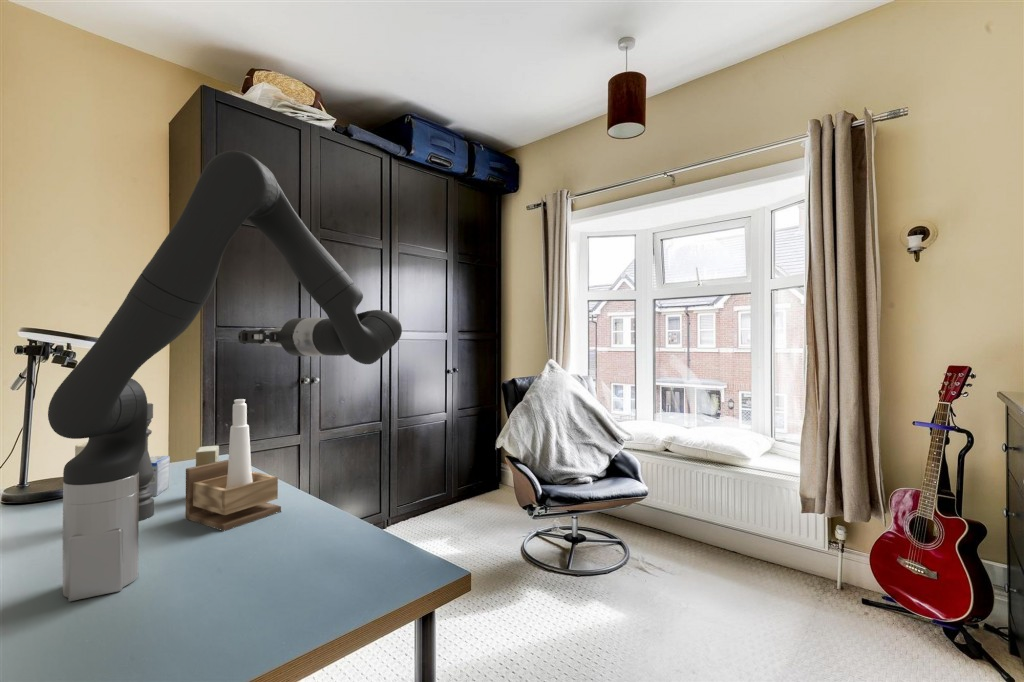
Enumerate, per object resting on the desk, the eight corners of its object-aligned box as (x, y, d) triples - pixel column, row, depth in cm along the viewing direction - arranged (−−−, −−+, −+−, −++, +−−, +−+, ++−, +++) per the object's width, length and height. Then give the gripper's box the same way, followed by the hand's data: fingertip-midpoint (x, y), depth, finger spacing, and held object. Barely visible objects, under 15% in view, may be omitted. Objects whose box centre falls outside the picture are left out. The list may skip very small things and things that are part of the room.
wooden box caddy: (280, 511, 109) (281, 463, 109) (223, 531, 98) (223, 477, 98) (243, 501, 116) (243, 456, 116) (185, 518, 104) (185, 468, 105)
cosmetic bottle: (221, 496, 107) (221, 399, 107) (250, 490, 111) (250, 397, 111) (227, 503, 103) (227, 401, 103) (258, 496, 107) (258, 399, 107)
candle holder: (161, 512, 108) (161, 403, 108) (136, 523, 102) (137, 407, 102) (136, 511, 108) (136, 402, 109) (110, 522, 102) (111, 406, 102)
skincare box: (199, 493, 122) (199, 446, 122) (219, 491, 123) (219, 444, 123) (194, 501, 116) (195, 451, 116) (215, 499, 117) (215, 449, 118)
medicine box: (150, 488, 126) (150, 456, 126) (169, 487, 127) (170, 455, 127) (136, 498, 118) (136, 463, 118) (157, 496, 120) (157, 462, 120)
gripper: (341, 319, 98) (290, 321, 106) (278, 315, 86) (226, 318, 94) (340, 355, 98) (290, 354, 106) (278, 357, 86) (225, 355, 94)
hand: (260, 337), depth 100 cm, fingers open, 8 cm apart
